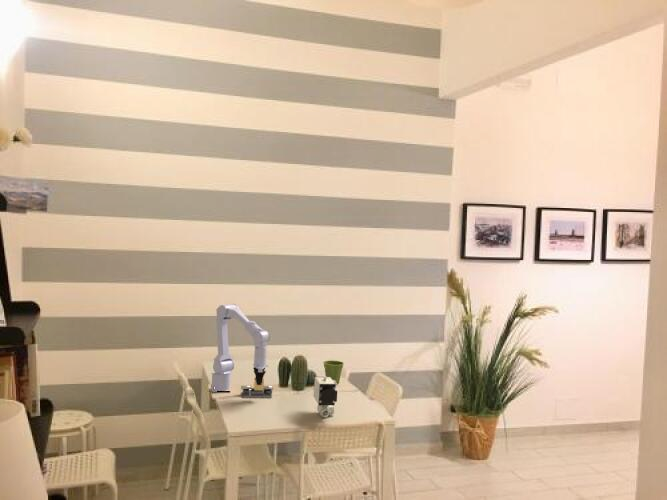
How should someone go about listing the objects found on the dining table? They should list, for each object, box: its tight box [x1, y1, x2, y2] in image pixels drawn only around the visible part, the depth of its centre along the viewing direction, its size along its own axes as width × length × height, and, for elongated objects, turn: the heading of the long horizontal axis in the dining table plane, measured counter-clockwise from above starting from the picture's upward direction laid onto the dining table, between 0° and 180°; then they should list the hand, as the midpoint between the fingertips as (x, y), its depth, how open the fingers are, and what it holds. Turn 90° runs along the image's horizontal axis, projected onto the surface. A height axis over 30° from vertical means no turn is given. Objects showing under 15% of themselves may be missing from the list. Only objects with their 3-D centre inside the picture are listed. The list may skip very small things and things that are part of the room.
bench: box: [240, 385, 274, 399], centre depth 303 cm, size 16×10×5 cm, turn 100°
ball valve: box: [313, 375, 338, 418], centre depth 277 cm, size 18×8×18 cm, turn 11°
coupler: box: [253, 377, 265, 390], centre depth 294 cm, size 4×4×6 cm
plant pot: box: [322, 360, 345, 384], centre depth 336 cm, size 12×12×11 cm
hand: (258, 383), depth 294 cm, fingers closed on coupler, 4 cm apart
